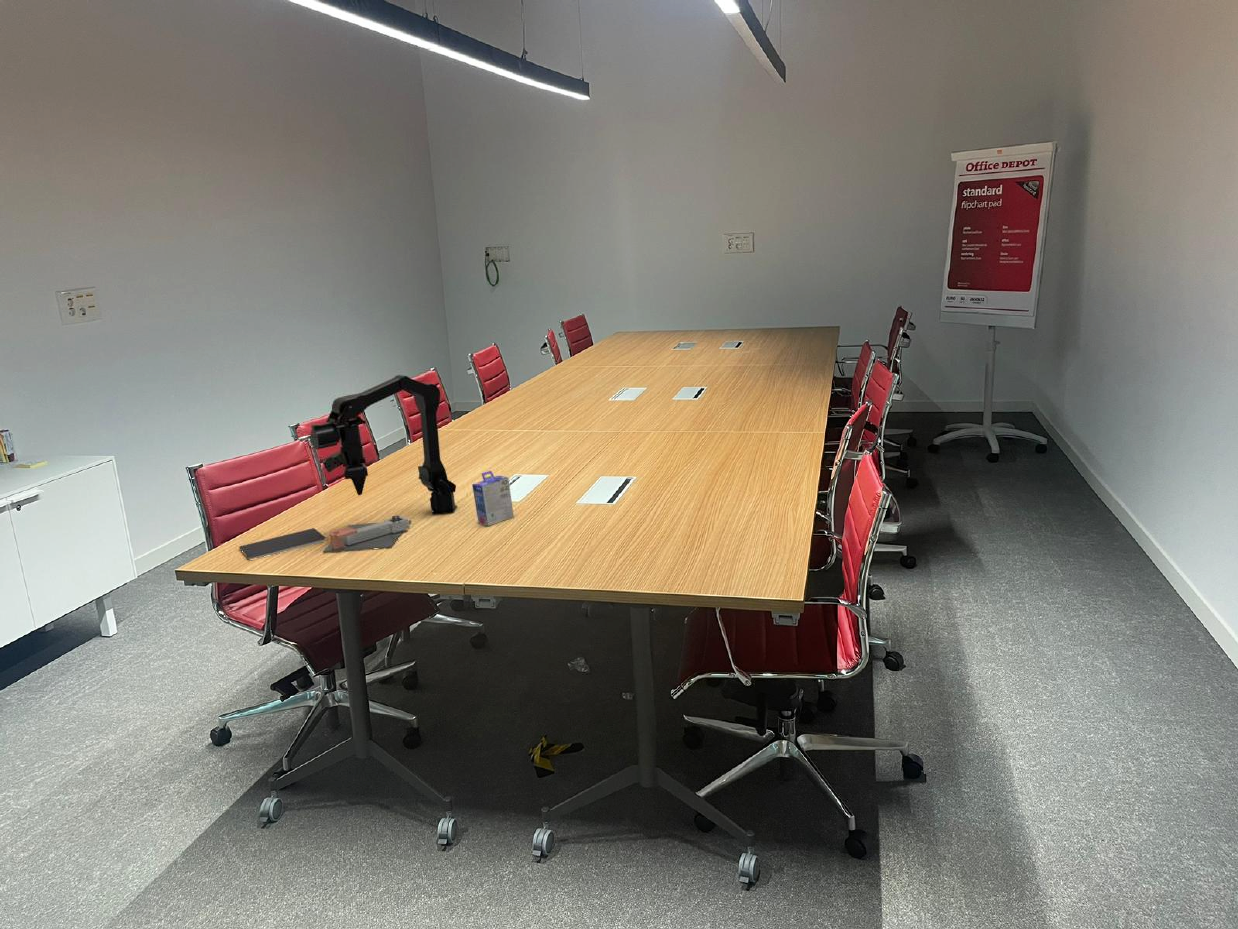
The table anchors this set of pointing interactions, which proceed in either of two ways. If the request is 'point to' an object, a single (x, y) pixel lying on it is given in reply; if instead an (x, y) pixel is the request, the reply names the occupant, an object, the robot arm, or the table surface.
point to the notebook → (282, 543)
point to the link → (377, 530)
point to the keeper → (340, 536)
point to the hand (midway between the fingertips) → (359, 494)
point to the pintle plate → (376, 542)
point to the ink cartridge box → (492, 499)
